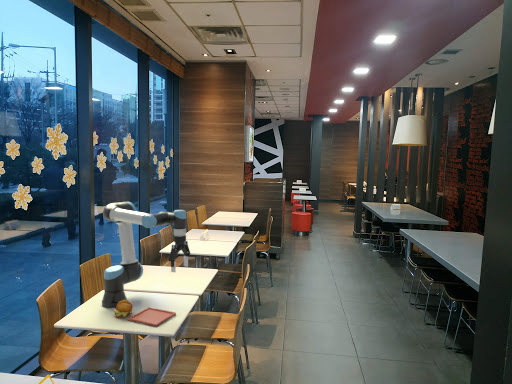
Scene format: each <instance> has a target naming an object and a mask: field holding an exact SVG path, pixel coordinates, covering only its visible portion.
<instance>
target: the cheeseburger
mask: <svg viewBox="0 0 512 384" xmlns="http://www.w3.org/2000/svg"><path fill="white" fill-rule="evenodd" d="M133 309H134V308H133V305H132V302H130V301H129V300H128V299H127V300H122V301H120V302H119V303H118V304H117V305H116V307H114V309H113V313H114V316H115V317H116V318H122V319H123V318H127V317H130V315H131V314H132V312H133Z"/></svg>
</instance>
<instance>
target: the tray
mask: <svg viewBox="0 0 512 384" xmlns="http://www.w3.org/2000/svg"><path fill="white" fill-rule="evenodd" d="M176 314H177V313H176V312H175V311H169V310H165V309H160V308H156V307H147V308H145V309H143V310H141V311H139V312H137V313H135V314H134V315H131V316H129V317H128V318H127V320H128V321H129V322H133V323H137V324H141V325H146V326H149V327H153V328H155V327H156V328H157V327H160V325H162V324H163V323H165V322H167V321H168V320H170V319H171V318H173V317H176Z"/></svg>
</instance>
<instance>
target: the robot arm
mask: <svg viewBox="0 0 512 384" xmlns="http://www.w3.org/2000/svg"><path fill="white" fill-rule="evenodd" d="M102 210H103V211H102V216H103V217H104V218H105V220H106V221H108V222H115V224H117V225H118V234H119V243H120V250H121V251H120V253H121V259H122V261H121V262H120V263H119V265H112V266H111V265H110V266H109V267H107V268H105V270H104V272H103V273H104V275H103V278H104V279H103V283H104V285H103V286H104V293H103V297H102V300H101V306H102V307H104V308H109V309H110V308H116V305H117V304H118V303H119V302H120V301H122V300H128V298H127V296H126V293H125V288H124V287H125V285H127V284H129V283H132V282H136V281H137V280H140V278H142V276H143V274H144V268H143V265H142V264H141V262H139V260H138V259H137V258H136V250H135V242H134V239H135V238H134V232H133V231H134V230H133V225H134V224H135V225H138V226H139V225H140V226H143V227H144V228H146V229H152V228H155V227H161V226H165V225H166V226H167V225H170V226H173V243H174V244H171V250H170V253H169V256H168V262H170V273H176V272H177V271H176V269H177V267H176V266H177V265H176V263H177V261H176V259H177V256H178V255H179V253H180V252H181V251H182V254H183V267H187V268H188V267H189V257H190V255H191V251H190V248H189V244H188V242H189V241H188V240H187V211H186V210H184V209H174V211H173V212H169V211H159V212H158V213H154V214H153V213H148V212H147V213H146V212H141V211H137V208H136V206H135V204H133V203H132V202H130V201H122V202H112V203H111V202H110V203H108V204H107V205H105V206H104V208H103V209H102Z"/></svg>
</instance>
